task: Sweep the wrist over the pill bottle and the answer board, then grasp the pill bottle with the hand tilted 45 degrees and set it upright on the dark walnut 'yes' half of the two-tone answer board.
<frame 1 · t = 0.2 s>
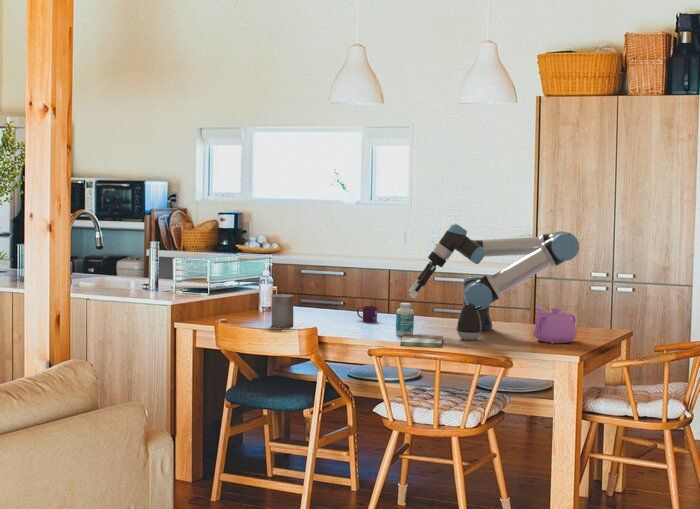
hand: (411, 295, 409), 16 cm above the table, tool tilted 35°, fingers open, 13 cm apart
pill bottle: (404, 335, 396), on the table
answer board: (421, 342, 378), on the table
pillar candle: (282, 326, 415), on the table
teapot: (551, 341, 391), on the table
mug: (366, 321, 438), on the table
pump dispenser: (469, 339, 389), on the table
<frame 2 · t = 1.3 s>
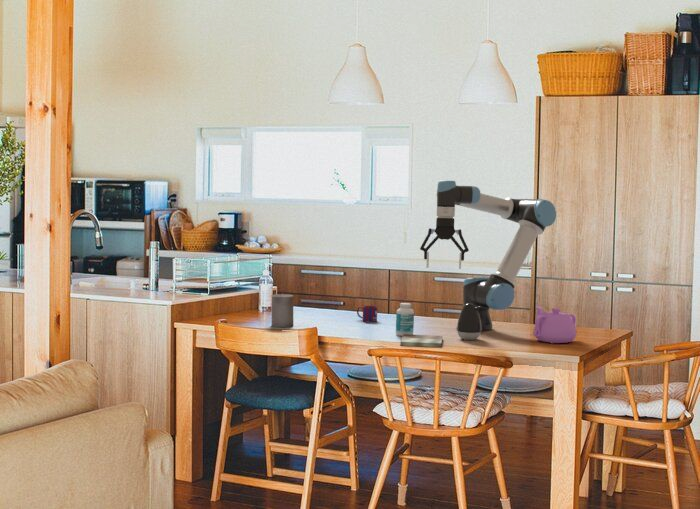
hand: (443, 268, 394), 29 cm above the table, tool pointing down, fingers open, 13 cm apart
nothing on the table moved.
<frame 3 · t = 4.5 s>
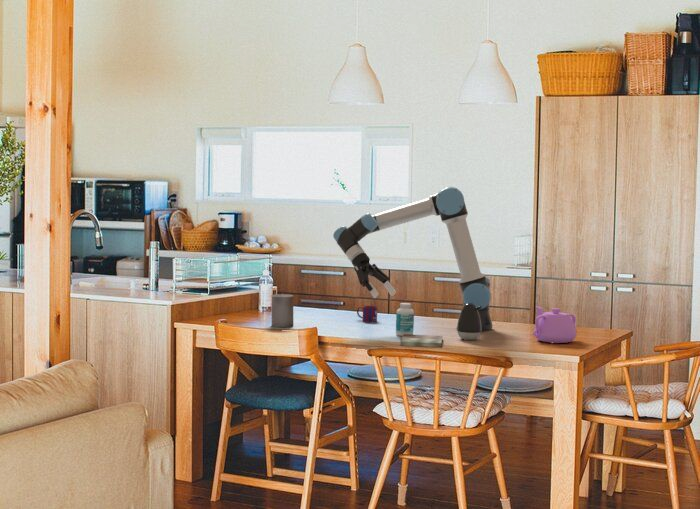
hand: (385, 295, 401), 16 cm above the table, tool tilted 45°, fingers open, 13 cm apart
nothing on the table moved.
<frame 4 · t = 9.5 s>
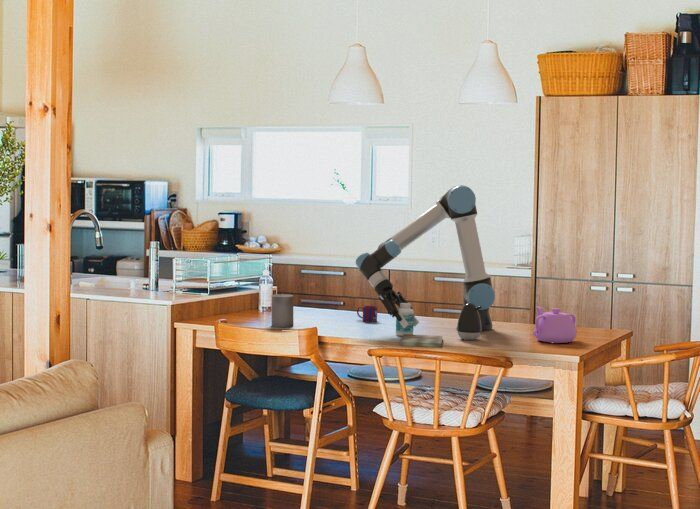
hand: (411, 325, 394), 5 cm above the table, tool tilted 45°, fingers closed on pill bottle, 7 cm apart
pill bottle: (404, 335, 396), on the table, touching gripper
everything else where it was.
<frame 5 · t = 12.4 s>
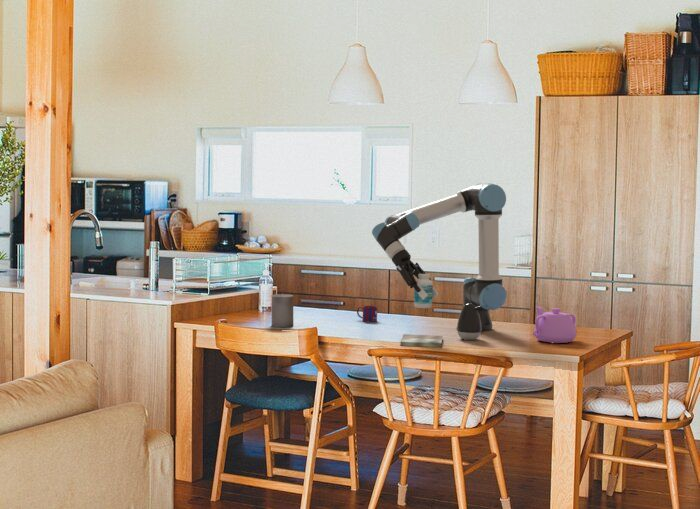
hand: (430, 296, 380), 18 cm above the table, tool tilted 45°, fingers closed on pill bottle, 7 cm apart
pill bottle: (422, 307, 382), point 13 cm above the table, touching gripper
everything else where it was.
when the fingers open (8 cm above the table, at t = 15.6 s): pill bottle drops 1 cm, resting on answer board.
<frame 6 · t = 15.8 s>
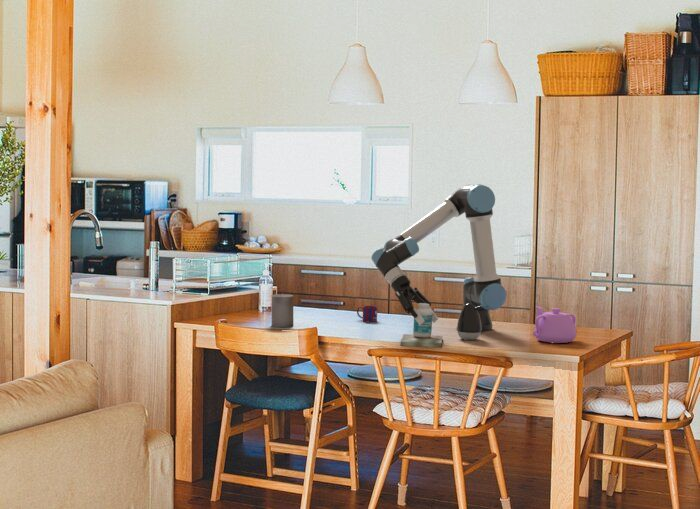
hand: (429, 321, 381), 8 cm above the table, tool tilted 45°, fingers open, 10 cm apart
pill bottle: (422, 337, 383), point 1 cm above the table, touching answer board
everything else where it was.
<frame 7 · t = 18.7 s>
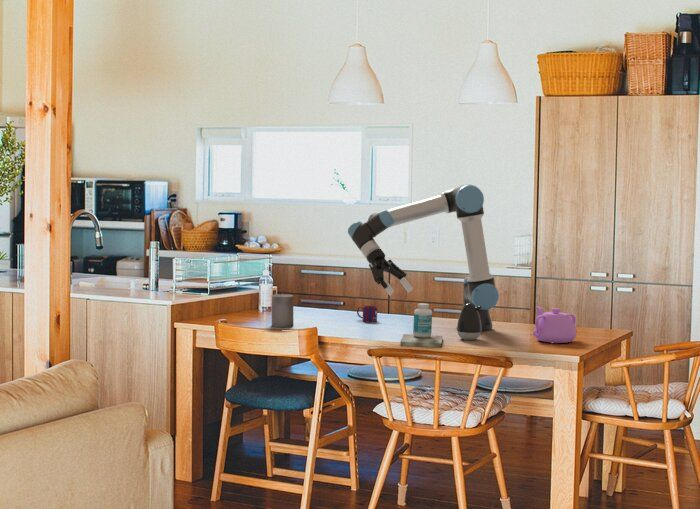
hand: (401, 292, 389), 19 cm above the table, tool tilted 45°, fingers open, 13 cm apart
nothing on the table moved.
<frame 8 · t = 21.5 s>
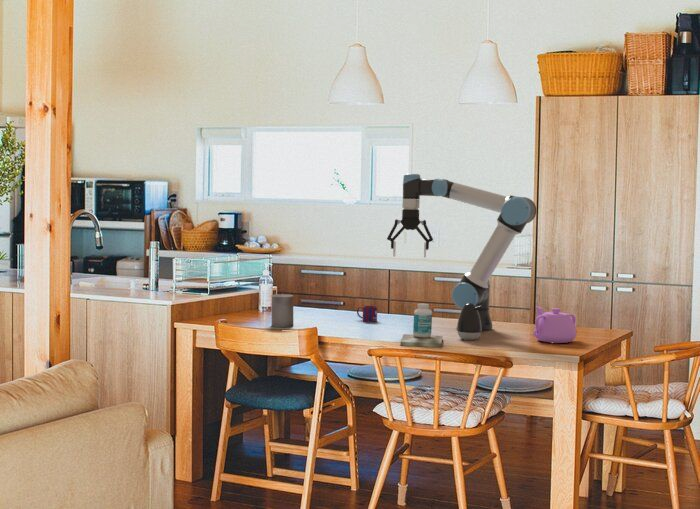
hand: (409, 256, 417), 32 cm above the table, tool pointing down, fingers open, 13 cm apart
nothing on the table moved.
at the end: pill bottle inside the target area (0.3 cm from its centre), point 1.3 cm above the table; pill bottle tilted 0°; the gripper is holding nothing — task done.
